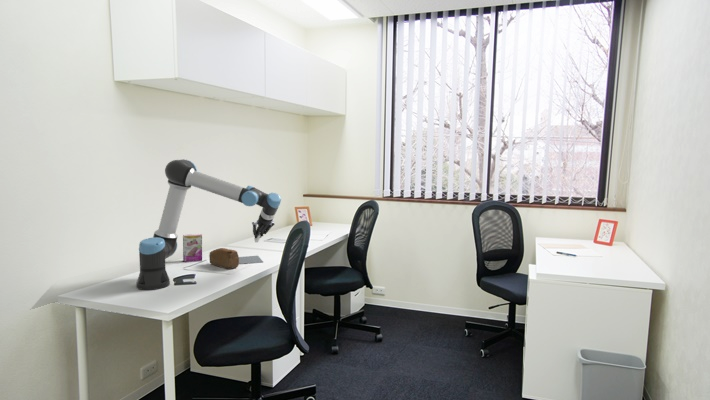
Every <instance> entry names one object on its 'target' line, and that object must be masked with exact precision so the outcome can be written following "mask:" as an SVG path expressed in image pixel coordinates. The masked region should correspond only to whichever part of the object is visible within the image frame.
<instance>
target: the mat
mask: <svg viewBox="0 0 710 400" xmlns="http://www.w3.org/2000/svg"><path fill="white" fill-rule="evenodd" d="M247 263H249V264H259V263H264V260H262V258H261V257H260V256H259V255H249V256H247V255H246V256H239V265H245V264H247ZM247 265H248V264H247Z"/></svg>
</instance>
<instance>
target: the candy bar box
mask: <svg viewBox="0 0 710 400" xmlns="http://www.w3.org/2000/svg"><path fill="white" fill-rule="evenodd" d="M182 235H183V236H182V257H183V258H182V259H183V261H182V262H184V263H185V262H188V263H189V262H190V263H191V262H202V261H203V234H202V233H193V234H191V233H190V234H182Z"/></svg>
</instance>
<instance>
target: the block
mask: <svg viewBox="0 0 710 400" xmlns="http://www.w3.org/2000/svg"><path fill="white" fill-rule="evenodd" d="M239 257H240V256H239V254H238V251H237V250H235V249H230V248H229V249H228V248H225V247H221V248H216V249H214V250H212V251H210V252H209V257H208V258H209V263H210V265H212V266H215V267H219V268H224V269H235V268H238V267H239V265H240V264H239Z"/></svg>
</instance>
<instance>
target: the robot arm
mask: <svg viewBox="0 0 710 400" xmlns="http://www.w3.org/2000/svg"><path fill="white" fill-rule="evenodd" d="M164 174H165V176H166V179H167V184H168V185H169V188H168V192H167V195H166V199H165V202H164V206H163V207H164V208H163V210H162V215H161V218H160V223H159V226H158V229H156V230H155V231H154V232H153V236H152V237H148V238H144V239H142V240H140V242H139V244H138V253H139V255H138V256H139V258H138V259H139V273H138V277H137V280H136V288H137V290H138V289H139V290H144V291H145V290H146V291H150V290H151V291H152V290H159V289H164V288H167V287H168V286H170V285H171V283H170V282H171V281H170V277H169V275H168V272H167V270H166V260H167V259H169V258H170V257H172V256H173V255H174V254H175V252H176V251H177V249H178V242H177V241H178V240H177V239H178V234H177V233H176V232H177V228H178V224H179V221H180V218H181V214H182V213H181V212H182V210H183V205H184V202H185V199H186V195H187V191H188V190H189V189H191V188H192V187H195V188H197V189H199V190H200V189H201V190H203V191H206V192H209V193H212V194H215V195H218V196H221V197H224V198H226V199H229V200H232V201H235V202H239V203H241V204H243V205H244V206H246V207H253V206H256V205H257V206H259V207H260V208H262V209H261V211H260V214H259V216H258V218H257V220H256V222H255V221H253V222H252V221H251V224H252V234H253V236H254V242H255V243H256V244H257V243H259V241H260V239H261V238H262V237H264V235H266V234H267V233H268V232H269V231H270V230H271V229H272V227H273V226H275V221H274V218H275V216H276V213H277V211H278V209H279V208H280V207H279V206H280V205H281V202H282V198H281V196H280V195H279V194H278V193H276V192H270V193H269V194H268V193H266V192H264V191H262V190H260V189H258V188H256V187H255V186H253V185H247V187H246V188H245V187H243V186H240V185H237V184H234V183H231V182H228V181H225V180H223V179H220V178H216V177H214V176H211V175H209V174H205V173H202V172H199V171H198V169H197V166H196V165H195V163H194V162H192V161H191V160H188V159H174V160H171V161H169V162H168V163H167V164H166V165H165V168H164Z"/></svg>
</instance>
